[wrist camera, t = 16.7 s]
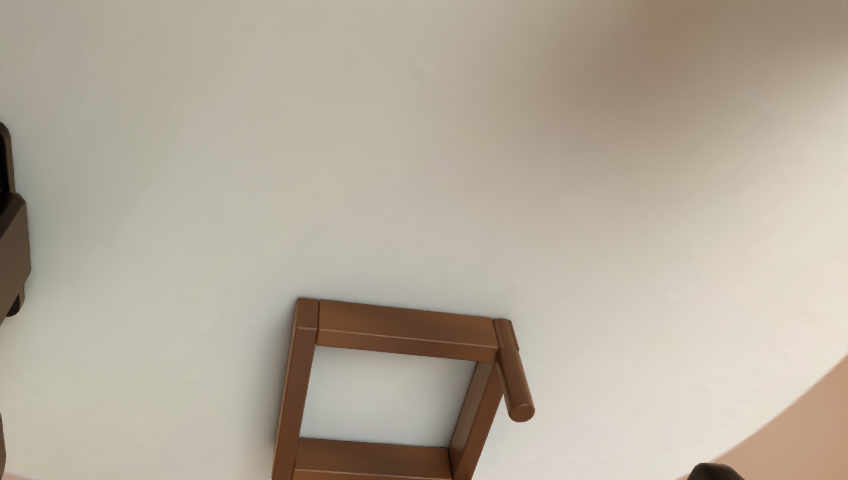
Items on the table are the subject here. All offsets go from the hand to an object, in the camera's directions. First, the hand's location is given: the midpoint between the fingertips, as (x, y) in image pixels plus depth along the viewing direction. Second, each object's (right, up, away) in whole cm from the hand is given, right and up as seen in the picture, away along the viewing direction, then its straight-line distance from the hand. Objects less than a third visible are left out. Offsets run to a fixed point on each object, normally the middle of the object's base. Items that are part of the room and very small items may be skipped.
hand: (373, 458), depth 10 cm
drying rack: (-1, -2, +17) cm, 17 cm away
